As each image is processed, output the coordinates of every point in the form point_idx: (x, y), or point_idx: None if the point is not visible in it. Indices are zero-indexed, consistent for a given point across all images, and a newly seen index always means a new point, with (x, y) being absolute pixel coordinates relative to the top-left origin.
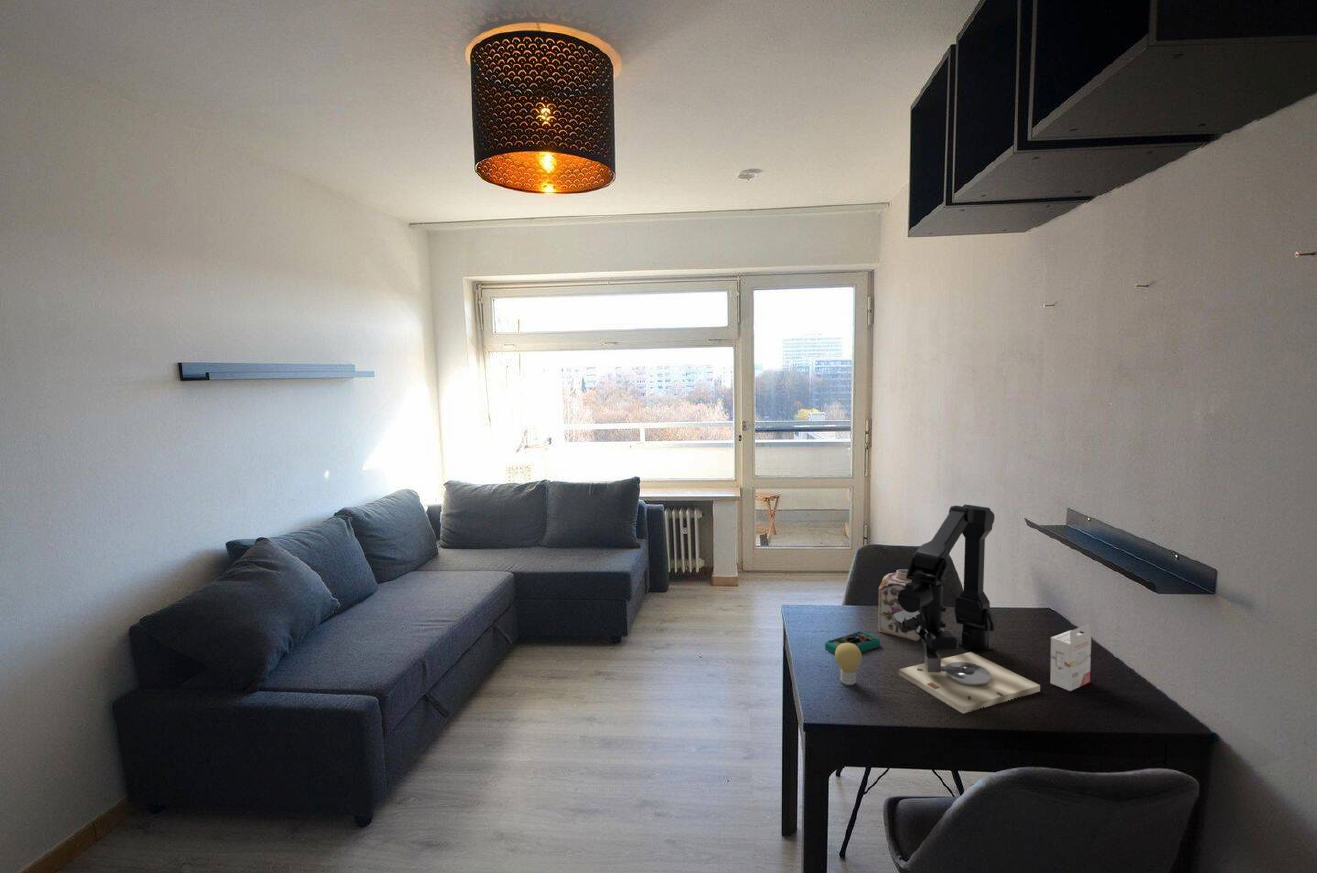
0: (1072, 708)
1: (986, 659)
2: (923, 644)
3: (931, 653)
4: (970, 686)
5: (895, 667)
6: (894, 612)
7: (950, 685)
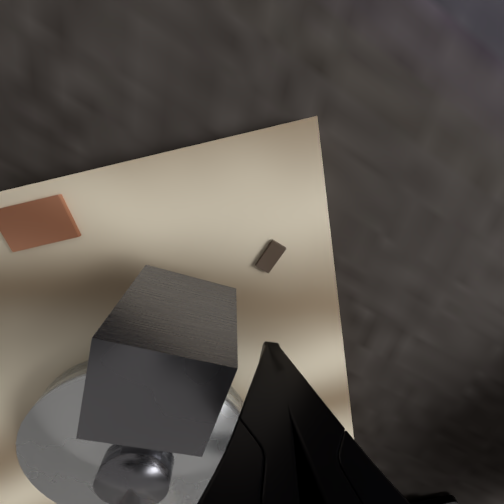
0: None
1: None
2: (333, 451)
3: (212, 415)
4: None
5: (403, 157)
6: None
7: (53, 322)
